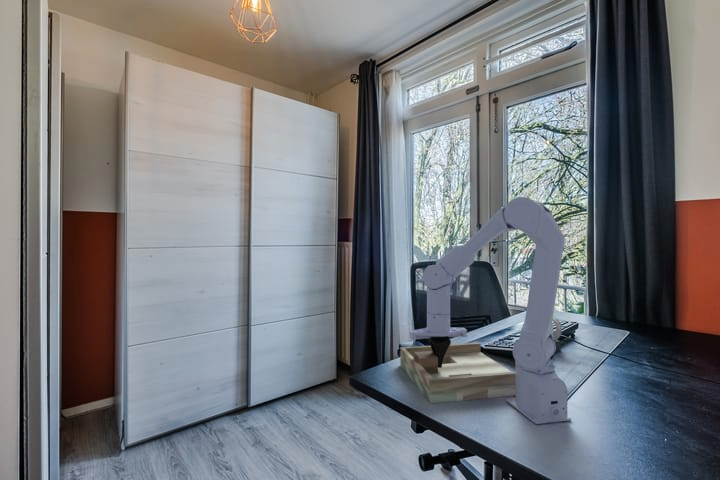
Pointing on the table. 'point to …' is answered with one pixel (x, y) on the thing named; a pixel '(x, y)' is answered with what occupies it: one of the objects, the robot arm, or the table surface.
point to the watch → (557, 334)
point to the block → (427, 361)
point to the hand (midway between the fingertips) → (438, 366)
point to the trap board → (459, 374)
